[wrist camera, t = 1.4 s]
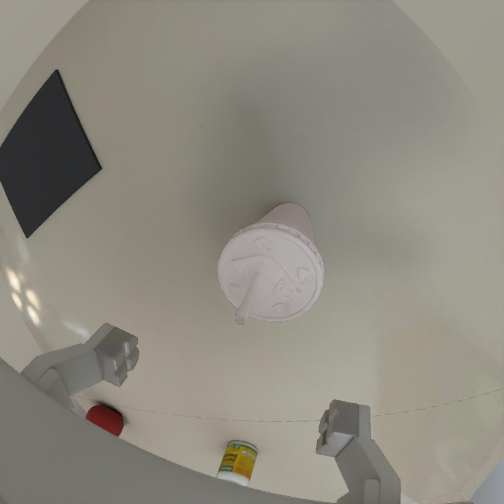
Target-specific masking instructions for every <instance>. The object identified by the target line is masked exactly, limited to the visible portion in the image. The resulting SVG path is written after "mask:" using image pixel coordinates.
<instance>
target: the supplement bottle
mask: <svg viewBox="0 0 504 504" xmlns="http://www.w3.org/2000/svg"><path fill="white" fill-rule="evenodd" d="M257 453H258V452H257V449H256V448H255V447H254V446H253V445H251V444H249V443H246V442H242V441H233V442H230V443H229V444H228V446H227V449H226V451H225V454H224V457H223V459H222V462H221V465H220V467H219V470H218V473H217V478H218V479H221V480H225V481H228V482H231V483H235V484H238V485H242V486H247V485H248V484H249V481H250V478H251V474H252V471H253V467H254V464H255V461H256V457H257Z"/></svg>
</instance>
